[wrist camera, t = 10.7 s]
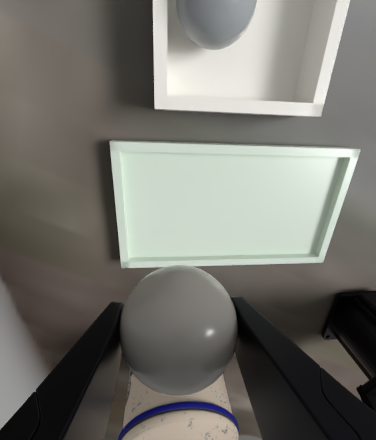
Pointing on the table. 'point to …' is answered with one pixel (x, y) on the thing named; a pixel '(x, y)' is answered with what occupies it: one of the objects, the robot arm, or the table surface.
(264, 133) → the table surface
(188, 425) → the teacup with lid
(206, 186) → the tray
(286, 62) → the open box
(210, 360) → the pebble
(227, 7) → the pebble
